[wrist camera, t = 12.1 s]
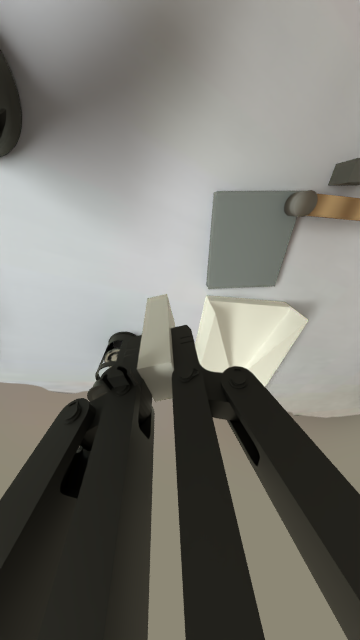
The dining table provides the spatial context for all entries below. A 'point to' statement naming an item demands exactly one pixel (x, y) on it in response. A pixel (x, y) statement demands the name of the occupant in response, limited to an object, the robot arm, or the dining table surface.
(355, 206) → the hinged leg
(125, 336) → the french press
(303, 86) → the dining table surface
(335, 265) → the dining table surface
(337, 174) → the block
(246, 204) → the stool seat
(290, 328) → the building model
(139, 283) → the dining table surface
